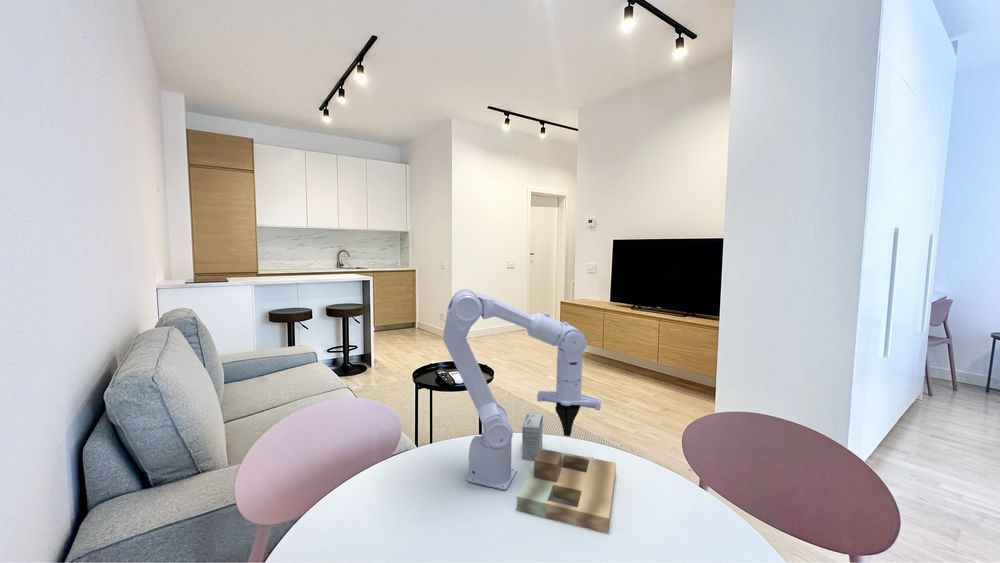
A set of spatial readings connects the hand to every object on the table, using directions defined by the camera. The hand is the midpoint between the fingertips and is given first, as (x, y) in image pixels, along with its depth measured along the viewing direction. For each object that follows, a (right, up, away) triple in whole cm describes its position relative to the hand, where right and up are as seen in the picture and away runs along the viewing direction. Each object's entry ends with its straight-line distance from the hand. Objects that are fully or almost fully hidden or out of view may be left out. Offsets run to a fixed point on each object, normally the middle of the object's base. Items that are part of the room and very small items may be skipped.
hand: (567, 434), depth 92 cm
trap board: (-1, -10, -6) cm, 12 cm away
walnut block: (-5, -7, -5) cm, 10 cm away
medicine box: (-7, -9, +10) cm, 15 cm away
